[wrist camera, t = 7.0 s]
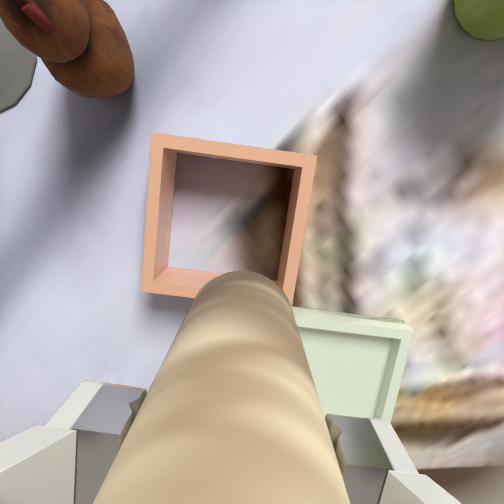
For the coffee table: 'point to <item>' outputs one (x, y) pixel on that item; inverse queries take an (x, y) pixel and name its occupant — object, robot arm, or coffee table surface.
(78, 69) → the wooden figurine
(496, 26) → the plant pot
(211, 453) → the beech peg
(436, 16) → the coffee table surface
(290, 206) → the frame
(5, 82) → the cup
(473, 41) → the coffee table surface
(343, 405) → the sage tray
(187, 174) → the coffee table surface
